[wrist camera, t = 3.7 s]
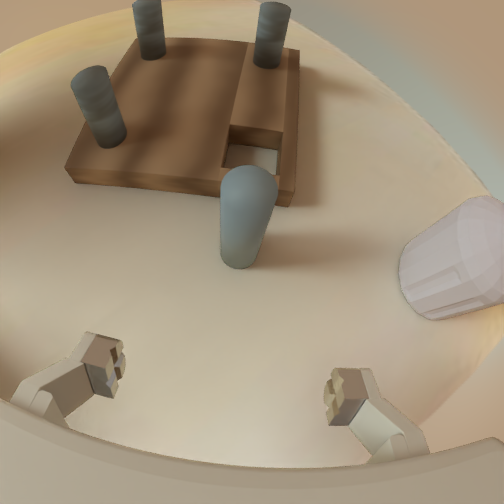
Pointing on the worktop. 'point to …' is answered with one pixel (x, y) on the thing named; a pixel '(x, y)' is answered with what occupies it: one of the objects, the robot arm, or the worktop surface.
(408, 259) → the white orange spray bottle
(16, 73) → the worktop surface
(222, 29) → the worktop surface
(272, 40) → the stool
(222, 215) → the stool leg
